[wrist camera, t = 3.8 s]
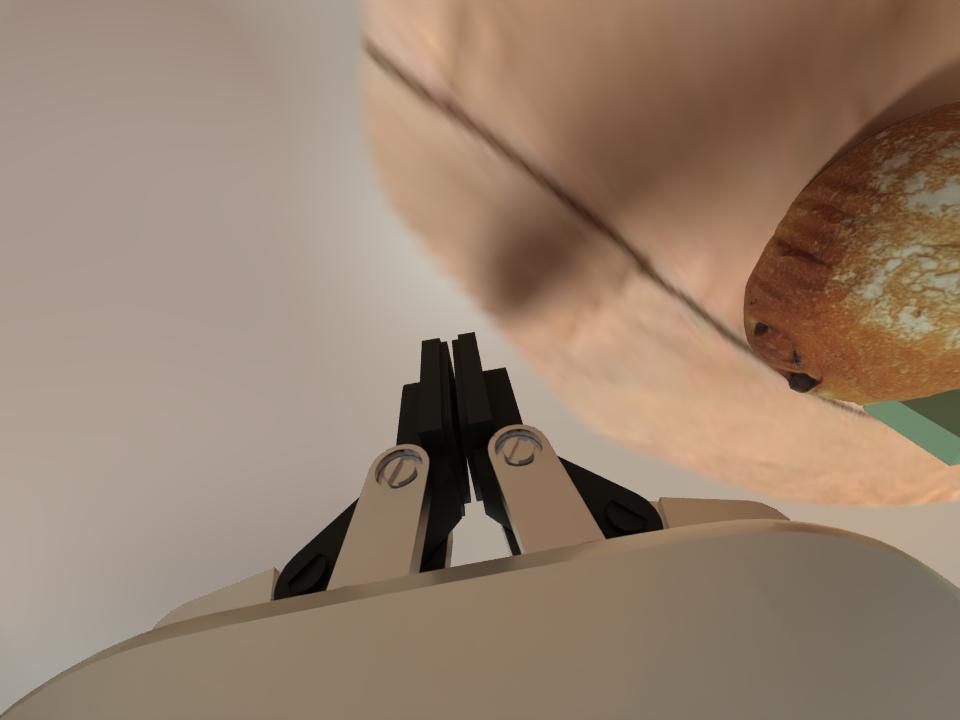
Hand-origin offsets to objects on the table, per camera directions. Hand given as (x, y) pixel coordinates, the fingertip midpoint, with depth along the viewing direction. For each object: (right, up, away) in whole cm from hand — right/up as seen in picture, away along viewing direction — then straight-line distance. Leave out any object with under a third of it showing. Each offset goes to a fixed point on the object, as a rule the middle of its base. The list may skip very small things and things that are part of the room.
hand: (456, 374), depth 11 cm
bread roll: (+16, +5, +3) cm, 17 cm away
